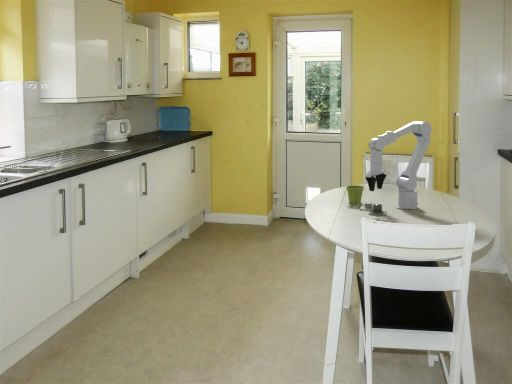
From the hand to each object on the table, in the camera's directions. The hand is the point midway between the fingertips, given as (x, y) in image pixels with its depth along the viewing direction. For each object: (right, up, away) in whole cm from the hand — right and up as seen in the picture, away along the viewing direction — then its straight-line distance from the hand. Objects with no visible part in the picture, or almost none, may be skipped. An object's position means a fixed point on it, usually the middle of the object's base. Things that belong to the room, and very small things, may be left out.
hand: (375, 189), depth 277 cm
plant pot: (-7, -7, +20) cm, 23 cm away
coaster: (0, -11, -5) cm, 12 cm away
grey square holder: (-2, -9, +6) cm, 11 cm away
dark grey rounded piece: (0, -11, -5) cm, 12 cm away
